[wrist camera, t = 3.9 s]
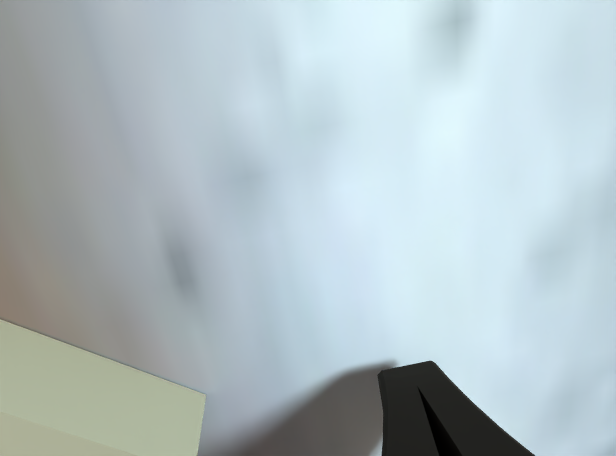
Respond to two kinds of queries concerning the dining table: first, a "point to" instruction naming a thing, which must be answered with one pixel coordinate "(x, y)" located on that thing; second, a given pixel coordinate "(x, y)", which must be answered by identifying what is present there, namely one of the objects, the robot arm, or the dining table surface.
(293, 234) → the dining table surface
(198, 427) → the cream toy brick
